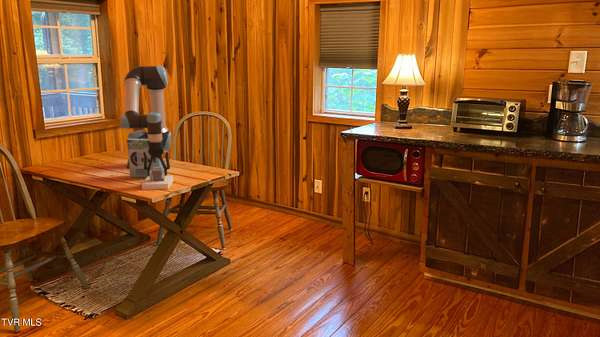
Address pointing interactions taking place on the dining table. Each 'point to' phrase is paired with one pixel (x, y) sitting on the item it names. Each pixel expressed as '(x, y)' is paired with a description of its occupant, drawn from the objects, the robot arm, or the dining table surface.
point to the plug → (157, 174)
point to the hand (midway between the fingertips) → (157, 181)
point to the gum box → (140, 157)
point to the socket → (157, 183)
